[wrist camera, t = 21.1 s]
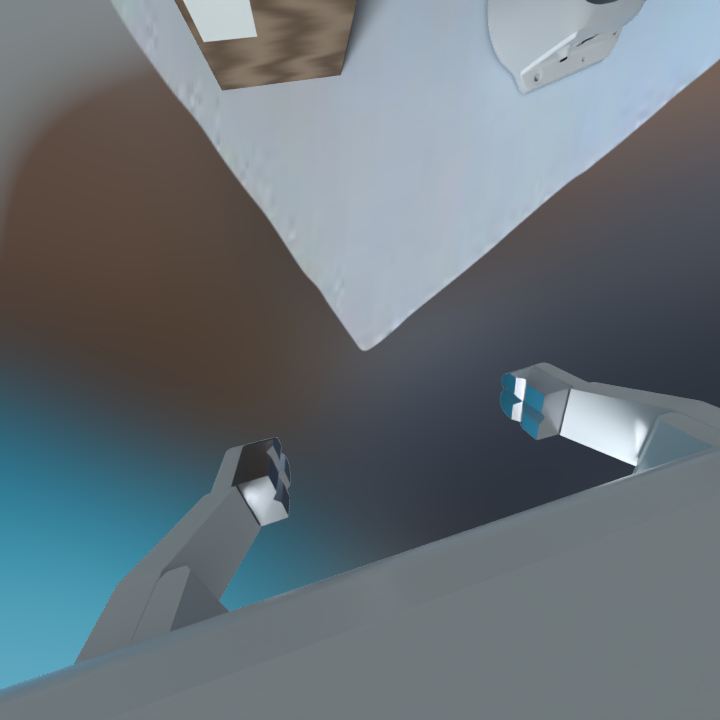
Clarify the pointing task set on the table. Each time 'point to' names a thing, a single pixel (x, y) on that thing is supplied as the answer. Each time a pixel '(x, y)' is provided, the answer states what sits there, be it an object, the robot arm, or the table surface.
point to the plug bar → (222, 19)
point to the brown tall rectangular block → (281, 43)
